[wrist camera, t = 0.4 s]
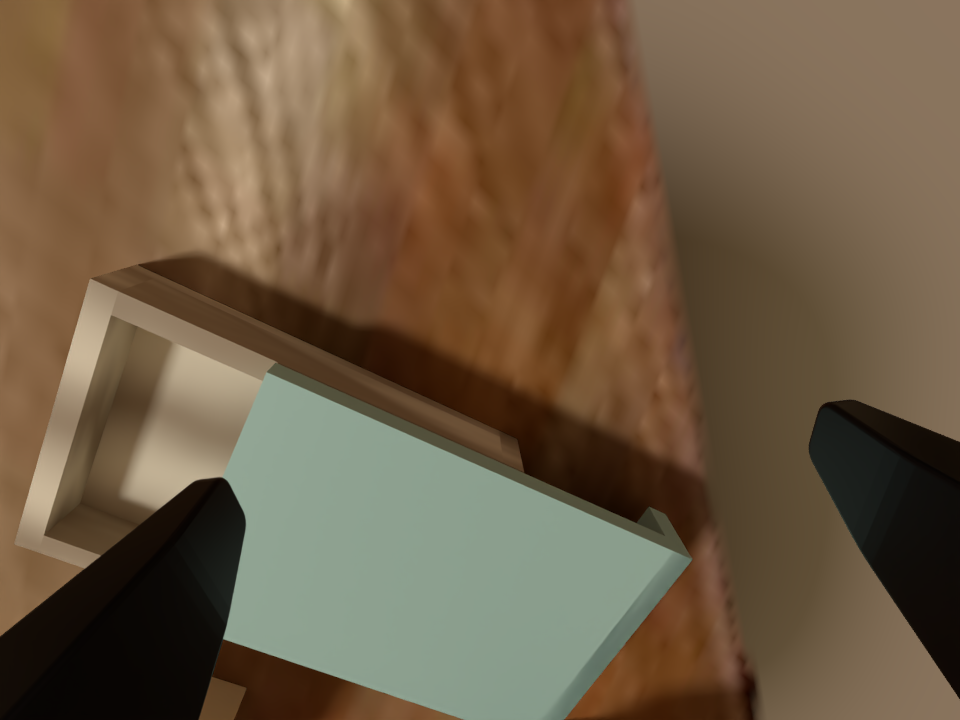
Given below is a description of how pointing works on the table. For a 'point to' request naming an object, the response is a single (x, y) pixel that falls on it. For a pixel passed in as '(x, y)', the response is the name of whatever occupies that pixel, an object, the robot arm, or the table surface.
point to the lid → (429, 561)
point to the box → (177, 408)
